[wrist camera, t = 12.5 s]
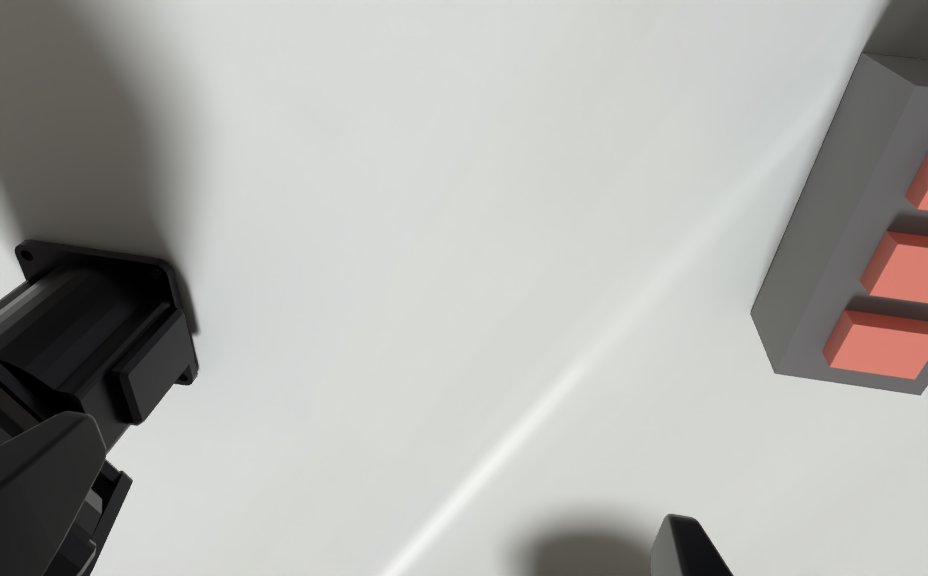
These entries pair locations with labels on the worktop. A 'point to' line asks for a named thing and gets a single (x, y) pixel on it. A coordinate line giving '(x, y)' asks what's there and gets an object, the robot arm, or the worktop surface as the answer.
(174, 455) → the worktop surface
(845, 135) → the gray power strip
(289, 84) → the worktop surface
